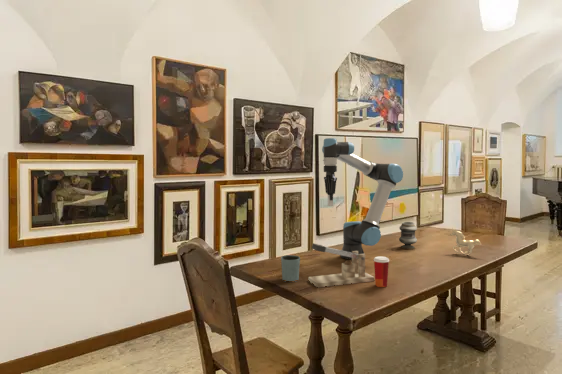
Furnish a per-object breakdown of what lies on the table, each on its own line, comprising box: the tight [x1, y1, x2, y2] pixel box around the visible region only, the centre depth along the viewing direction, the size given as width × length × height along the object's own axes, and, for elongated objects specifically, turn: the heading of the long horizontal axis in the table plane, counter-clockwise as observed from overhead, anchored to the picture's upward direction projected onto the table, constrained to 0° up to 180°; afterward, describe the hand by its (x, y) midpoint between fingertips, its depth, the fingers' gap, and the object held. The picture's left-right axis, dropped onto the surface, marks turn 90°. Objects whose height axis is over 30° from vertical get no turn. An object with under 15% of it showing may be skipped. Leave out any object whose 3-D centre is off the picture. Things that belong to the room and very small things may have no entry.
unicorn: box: [450, 227, 482, 256], centre depth 260 cm, size 20×4×17 cm, turn 45°
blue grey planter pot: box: [280, 254, 301, 282], centre depth 211 cm, size 10×10×12 cm
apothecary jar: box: [398, 221, 418, 250], centre depth 284 cm, size 12×12×18 cm
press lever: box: [311, 243, 359, 259], centre depth 207 cm, size 27×6×3 cm, turn 108°
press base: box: [307, 251, 375, 288], centre depth 208 cm, size 32×12×14 cm, turn 108°
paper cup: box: [373, 256, 390, 288], centre depth 199 cm, size 8×8×14 cm
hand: (330, 205), depth 232 cm, fingers closed
